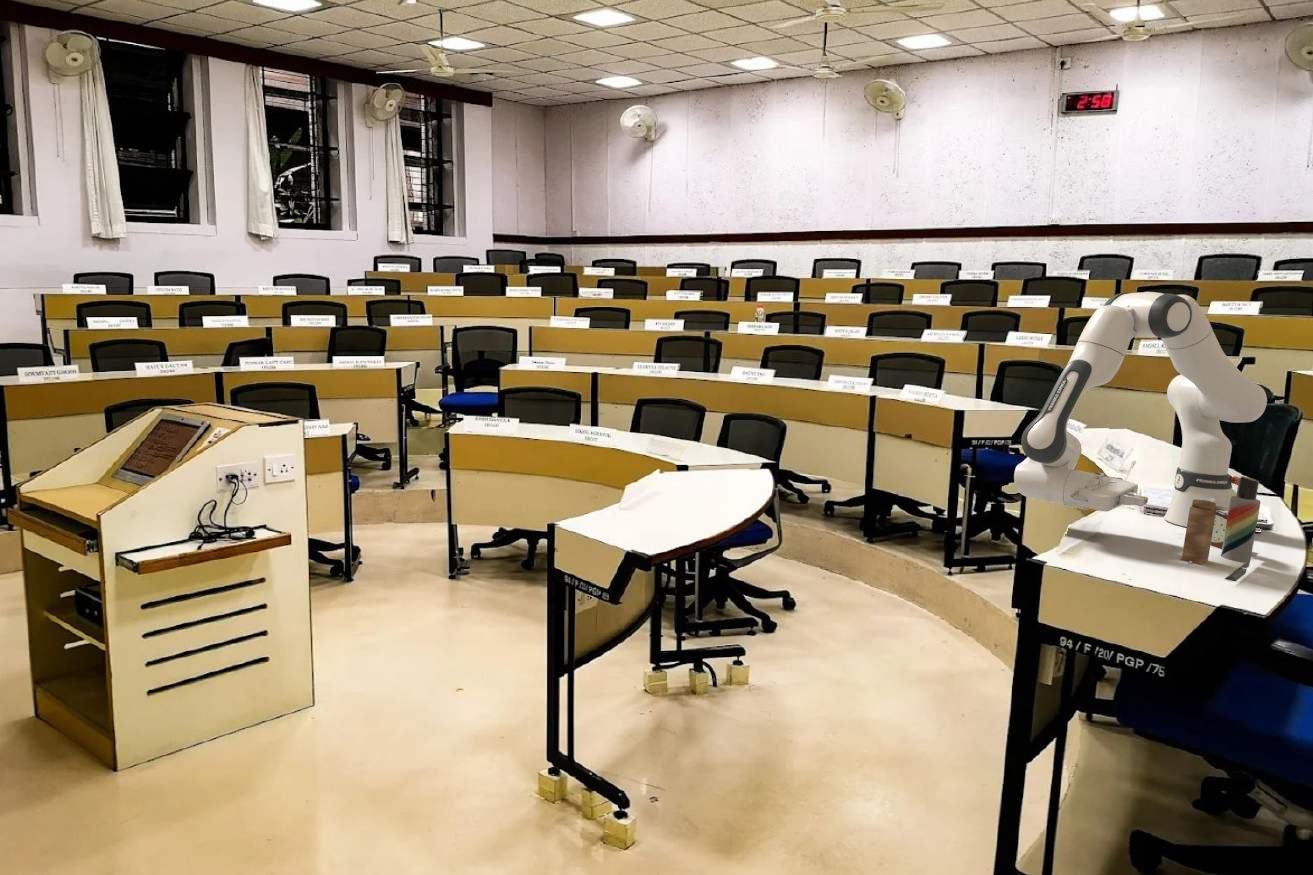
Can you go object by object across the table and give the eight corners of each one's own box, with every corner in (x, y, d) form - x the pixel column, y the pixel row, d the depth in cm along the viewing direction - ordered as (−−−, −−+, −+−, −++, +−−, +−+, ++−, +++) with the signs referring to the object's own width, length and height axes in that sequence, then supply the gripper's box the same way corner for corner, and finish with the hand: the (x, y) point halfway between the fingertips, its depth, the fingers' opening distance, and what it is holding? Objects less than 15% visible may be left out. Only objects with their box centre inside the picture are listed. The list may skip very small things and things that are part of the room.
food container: (1251, 557, 218) (1258, 516, 216) (1230, 558, 216) (1237, 516, 214) (1206, 542, 229) (1213, 502, 227) (1186, 543, 227) (1193, 502, 226)
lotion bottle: (1216, 558, 215) (1231, 473, 212) (1244, 562, 214) (1260, 476, 210) (1223, 565, 210) (1238, 478, 206) (1252, 569, 208) (1268, 481, 205)
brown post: (1178, 561, 206) (1187, 502, 204) (1189, 554, 212) (1198, 497, 210) (1200, 566, 203) (1210, 506, 201) (1211, 559, 209) (1220, 501, 207)
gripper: (1067, 483, 215) (1132, 495, 206) (1100, 471, 230) (1161, 481, 221) (1064, 510, 217) (1128, 523, 207) (1096, 496, 231) (1157, 507, 222)
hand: (1145, 501), depth 214 cm, fingers closed
